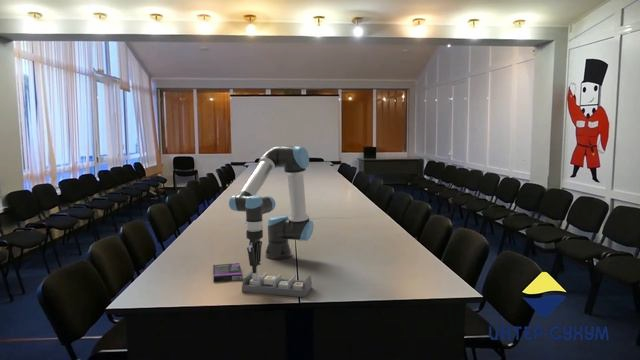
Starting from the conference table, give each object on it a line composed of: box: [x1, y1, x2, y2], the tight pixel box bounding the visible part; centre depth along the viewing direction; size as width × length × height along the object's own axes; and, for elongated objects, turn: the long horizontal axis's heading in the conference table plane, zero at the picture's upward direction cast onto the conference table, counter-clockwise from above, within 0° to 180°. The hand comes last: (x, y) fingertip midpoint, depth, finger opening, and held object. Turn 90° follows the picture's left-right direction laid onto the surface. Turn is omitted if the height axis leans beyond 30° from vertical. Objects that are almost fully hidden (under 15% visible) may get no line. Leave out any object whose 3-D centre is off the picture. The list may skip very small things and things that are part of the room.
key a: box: [278, 281, 288, 288], centre depth 205 cm, size 4×4×3 cm
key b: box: [250, 279, 258, 286], centre depth 208 cm, size 4×4×3 cm
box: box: [212, 262, 243, 283], centre depth 227 cm, size 14×4×20 cm
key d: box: [264, 275, 277, 285], centre depth 207 cm, size 4×4×3 cm
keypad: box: [241, 270, 313, 298], centre depth 206 cm, size 12×30×6 cm, turn 76°
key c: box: [293, 282, 303, 290], centre depth 203 cm, size 4×4×3 cm
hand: (255, 278), depth 208 cm, fingers closed
